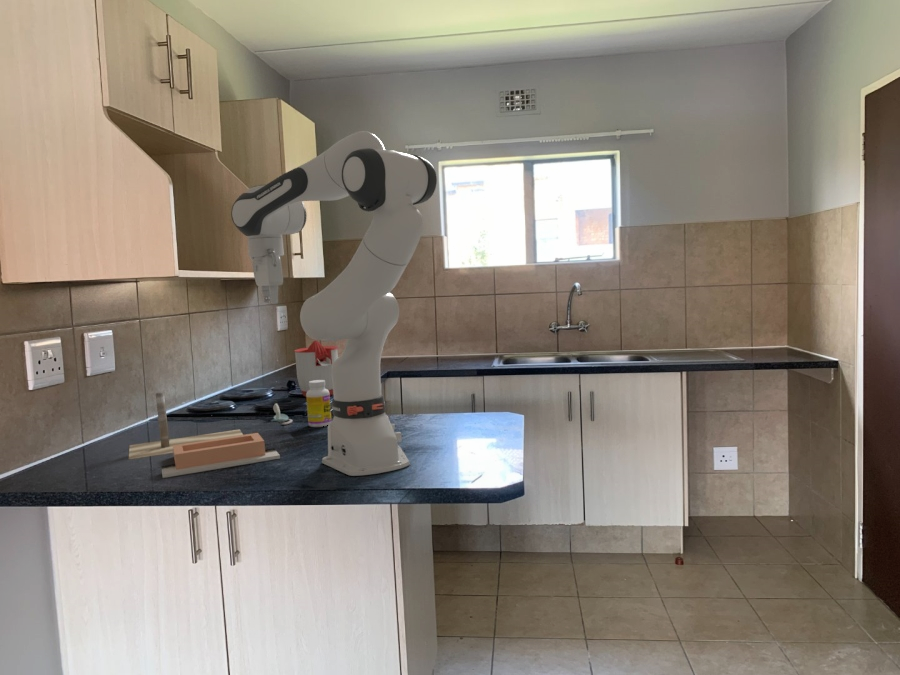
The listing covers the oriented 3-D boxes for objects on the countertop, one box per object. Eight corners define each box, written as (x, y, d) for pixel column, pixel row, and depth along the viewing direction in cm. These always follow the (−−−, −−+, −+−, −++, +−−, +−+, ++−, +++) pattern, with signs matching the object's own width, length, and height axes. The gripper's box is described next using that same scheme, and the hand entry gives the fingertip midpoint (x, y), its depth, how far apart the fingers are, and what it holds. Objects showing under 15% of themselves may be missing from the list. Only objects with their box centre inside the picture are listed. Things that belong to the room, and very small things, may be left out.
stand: (248, 446, 176) (242, 387, 175) (129, 465, 165) (122, 402, 163) (240, 434, 191) (235, 379, 189) (130, 450, 179) (123, 392, 178)
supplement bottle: (326, 427, 193) (323, 382, 192) (304, 427, 194) (301, 383, 193) (335, 422, 199) (331, 378, 198) (314, 422, 201) (310, 379, 199)
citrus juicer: (307, 401, 235) (302, 344, 233) (292, 395, 250) (287, 341, 248) (349, 395, 243) (345, 339, 241) (332, 389, 258) (328, 336, 256)
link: (265, 455, 163) (264, 440, 163) (176, 469, 155) (174, 454, 155) (258, 446, 173) (257, 432, 172) (174, 459, 164) (172, 445, 164)
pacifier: (294, 420, 206) (274, 421, 206) (293, 400, 206) (273, 401, 205) (290, 426, 199) (269, 427, 198) (289, 405, 198) (268, 406, 198)
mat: (280, 458, 163) (279, 455, 163) (162, 477, 152) (162, 474, 152) (270, 446, 175) (269, 443, 175) (160, 463, 165) (160, 460, 165)
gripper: (286, 247, 168) (291, 303, 169) (271, 251, 187) (275, 301, 188) (260, 248, 165) (265, 305, 167) (247, 252, 184) (252, 303, 185)
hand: (270, 303), depth 178 cm, fingers open, 8 cm apart
